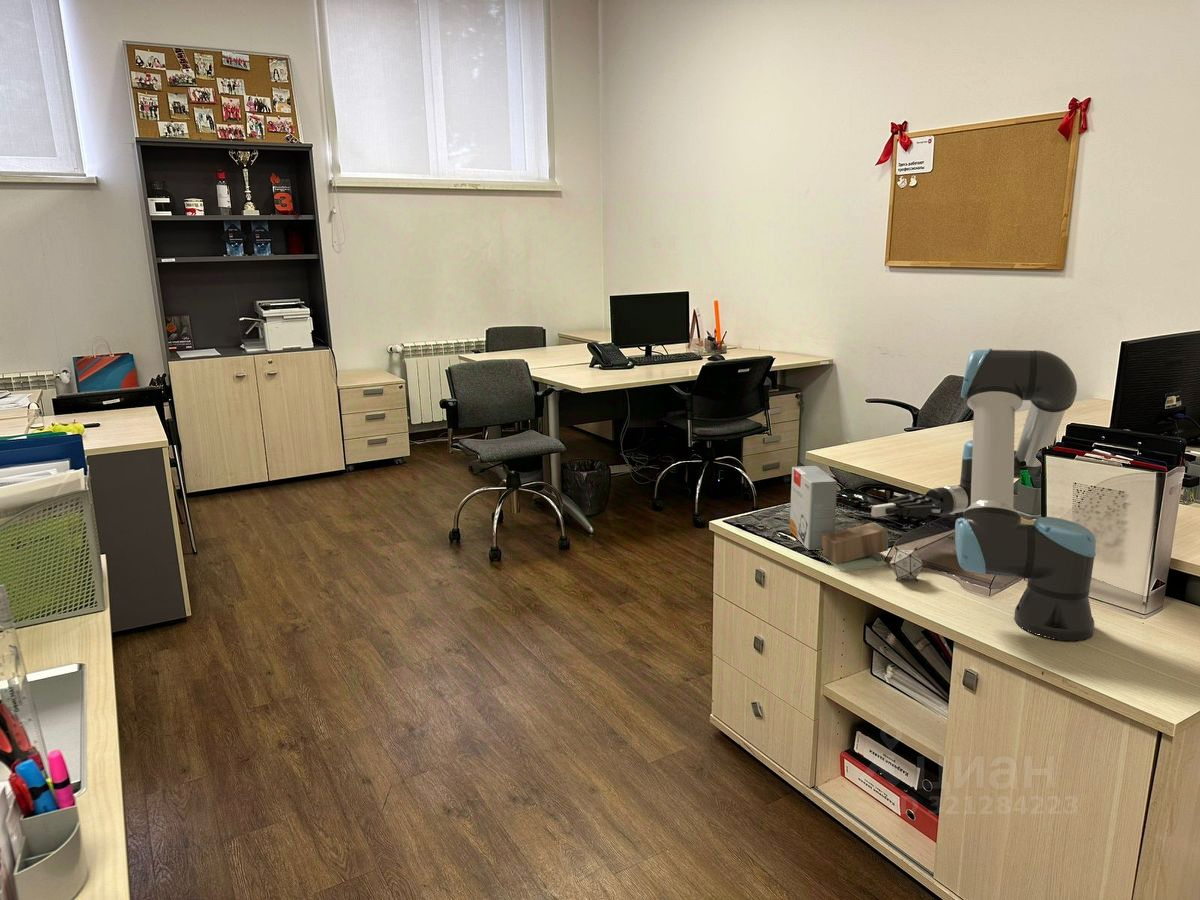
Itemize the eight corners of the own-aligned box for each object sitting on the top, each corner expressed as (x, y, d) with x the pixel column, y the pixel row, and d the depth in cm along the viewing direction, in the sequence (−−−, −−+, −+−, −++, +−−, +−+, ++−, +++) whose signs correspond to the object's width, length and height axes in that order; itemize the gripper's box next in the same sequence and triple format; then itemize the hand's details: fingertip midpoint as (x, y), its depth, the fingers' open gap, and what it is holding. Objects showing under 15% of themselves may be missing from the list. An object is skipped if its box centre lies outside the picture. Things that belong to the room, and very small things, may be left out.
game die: (907, 590, 203) (927, 556, 204) (917, 592, 195) (938, 557, 195) (875, 570, 205) (896, 537, 205) (884, 571, 196) (905, 537, 197)
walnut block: (887, 529, 212) (834, 543, 208) (888, 550, 214) (835, 564, 210) (873, 522, 218) (821, 535, 214) (874, 542, 219) (822, 556, 215)
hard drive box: (788, 532, 235) (791, 466, 230) (813, 530, 235) (817, 465, 230) (807, 551, 220) (811, 481, 215) (834, 550, 220) (838, 480, 216)
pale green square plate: (887, 564, 210) (887, 559, 209) (844, 572, 206) (844, 566, 205) (854, 546, 223) (855, 541, 222) (813, 553, 219) (813, 547, 218)
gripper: (961, 521, 216) (888, 532, 209) (927, 506, 228) (857, 517, 221) (964, 494, 214) (890, 505, 207) (929, 481, 226) (858, 491, 219)
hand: (873, 511), depth 214 cm, fingers closed
